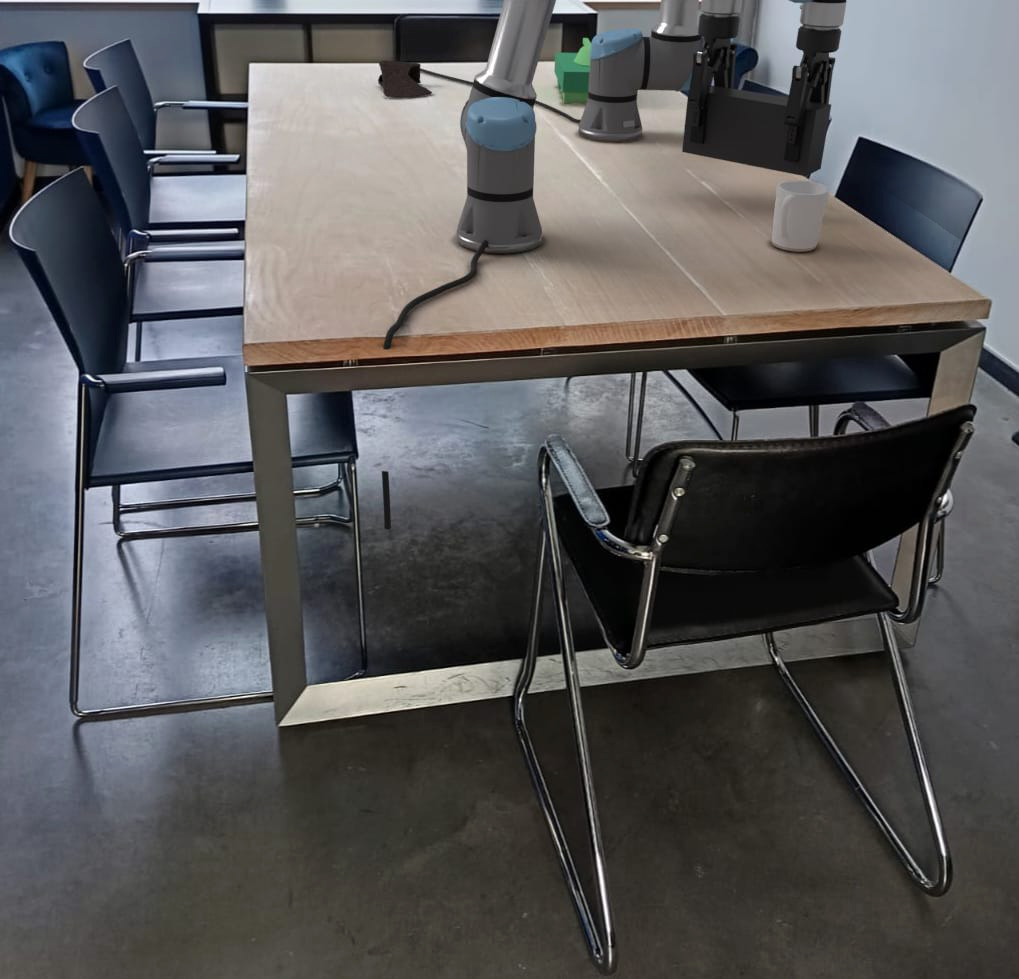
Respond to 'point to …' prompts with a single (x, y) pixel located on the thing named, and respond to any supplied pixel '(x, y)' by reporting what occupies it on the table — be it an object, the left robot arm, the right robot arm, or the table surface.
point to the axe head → (401, 79)
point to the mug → (798, 215)
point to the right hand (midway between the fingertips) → (706, 138)
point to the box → (757, 131)
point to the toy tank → (574, 74)
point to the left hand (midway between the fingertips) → (799, 156)
